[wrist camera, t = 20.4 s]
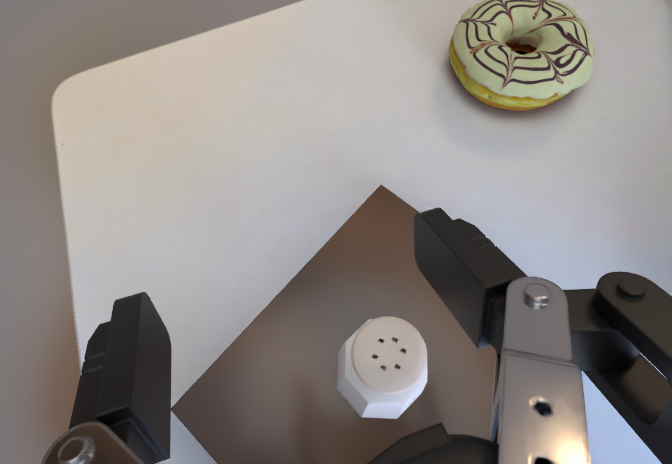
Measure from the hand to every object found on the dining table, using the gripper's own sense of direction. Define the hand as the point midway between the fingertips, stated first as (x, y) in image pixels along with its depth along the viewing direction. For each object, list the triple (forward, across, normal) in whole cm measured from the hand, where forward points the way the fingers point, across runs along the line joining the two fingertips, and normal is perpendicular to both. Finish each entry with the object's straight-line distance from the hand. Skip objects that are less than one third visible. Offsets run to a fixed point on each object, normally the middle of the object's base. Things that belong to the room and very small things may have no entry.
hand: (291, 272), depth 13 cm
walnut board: (+6, -4, +15) cm, 17 cm away
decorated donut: (+21, -23, +4) cm, 32 cm away
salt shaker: (+5, -4, +14) cm, 16 cm away
